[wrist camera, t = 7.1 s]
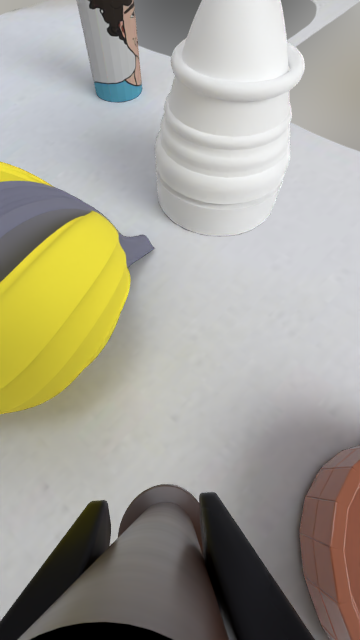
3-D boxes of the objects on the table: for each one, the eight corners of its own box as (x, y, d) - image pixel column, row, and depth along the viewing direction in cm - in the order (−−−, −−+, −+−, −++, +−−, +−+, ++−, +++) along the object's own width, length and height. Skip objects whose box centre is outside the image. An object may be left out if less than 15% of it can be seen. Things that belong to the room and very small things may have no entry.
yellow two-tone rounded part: (211, 280, 26) (201, 142, 13) (75, 464, 23) (-127, 536, 10) (92, 209, 30) (-8, 51, 17) (-37, 356, 27) (-284, 302, 14)
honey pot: (291, 180, 33) (396, -93, 17) (245, 254, 28) (334, -41, 12) (193, 145, 36) (205, -114, 20) (134, 207, 31) (88, -79, 15)
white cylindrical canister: (142, 101, 41) (126, -77, 28) (94, 102, 41) (55, -76, 28) (141, 78, 44) (125, -91, 31) (96, 79, 44) (62, -91, 31)
